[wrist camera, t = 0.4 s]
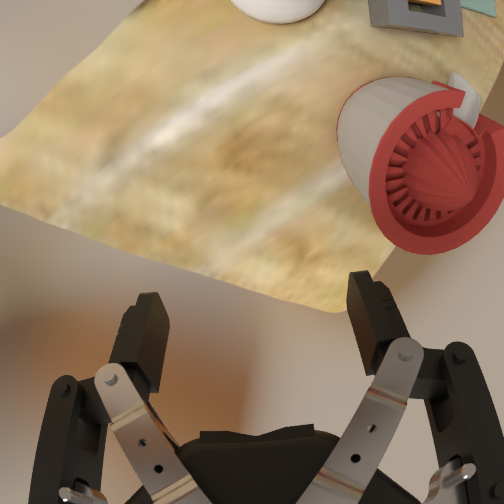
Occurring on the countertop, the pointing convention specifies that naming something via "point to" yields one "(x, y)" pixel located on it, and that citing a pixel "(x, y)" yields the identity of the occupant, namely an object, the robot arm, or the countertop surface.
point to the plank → (426, 2)
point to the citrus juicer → (423, 160)
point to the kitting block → (418, 17)
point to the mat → (480, 6)
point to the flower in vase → (278, 9)
